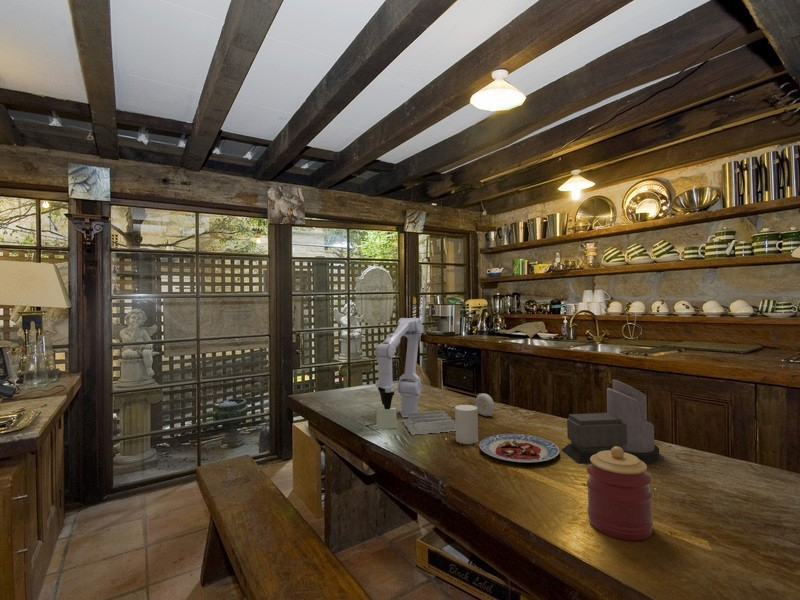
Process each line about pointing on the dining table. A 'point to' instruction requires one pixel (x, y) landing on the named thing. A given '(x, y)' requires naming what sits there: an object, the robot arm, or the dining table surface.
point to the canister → (619, 495)
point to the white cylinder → (466, 424)
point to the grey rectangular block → (386, 418)
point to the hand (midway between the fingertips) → (386, 406)
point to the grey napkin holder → (614, 428)
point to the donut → (489, 403)
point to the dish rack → (429, 422)
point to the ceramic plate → (519, 448)
